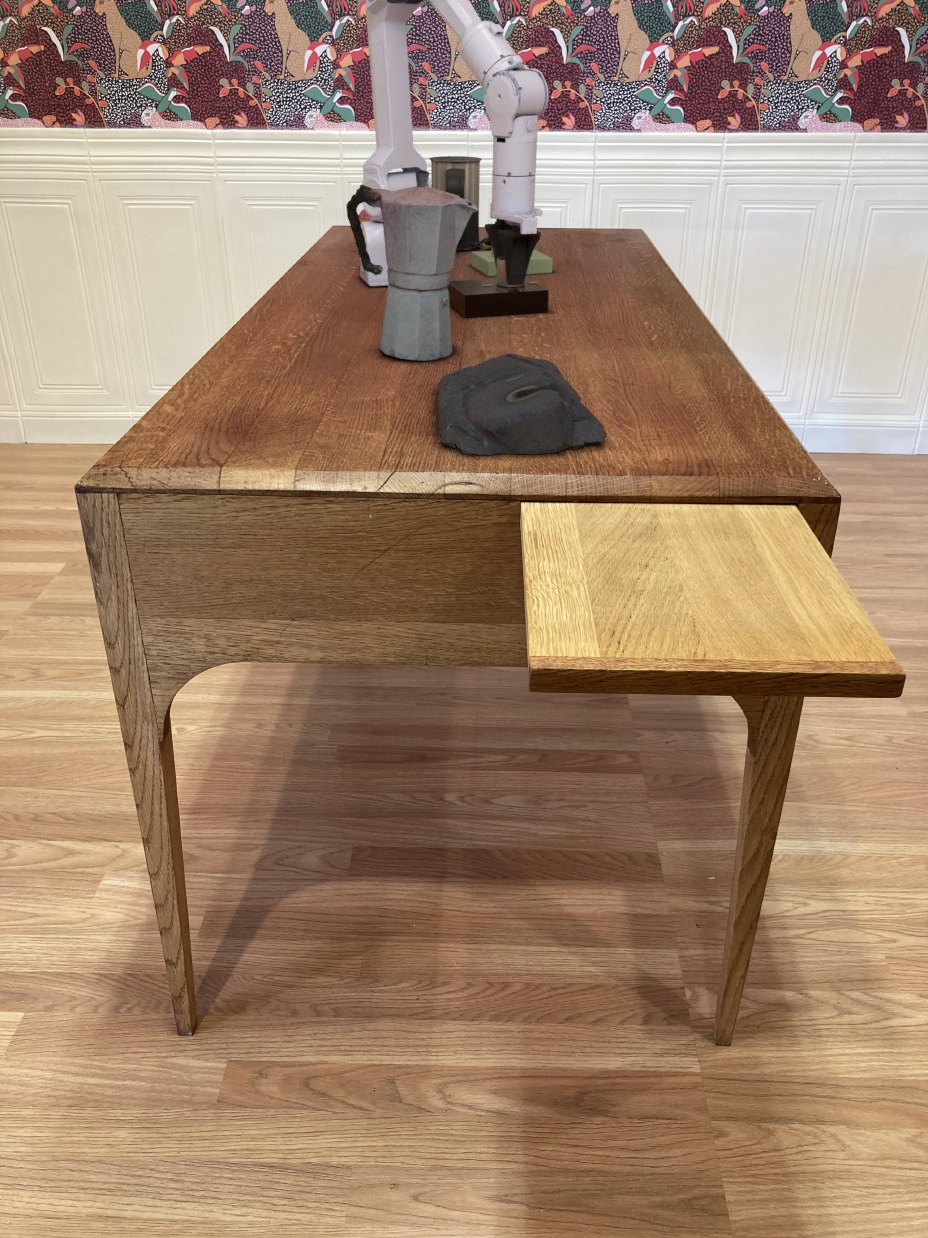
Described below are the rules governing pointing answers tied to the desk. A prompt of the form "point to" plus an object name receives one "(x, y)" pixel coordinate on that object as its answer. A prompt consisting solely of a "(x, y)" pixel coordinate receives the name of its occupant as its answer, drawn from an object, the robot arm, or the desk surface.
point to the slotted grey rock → (513, 409)
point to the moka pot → (415, 264)
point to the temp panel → (496, 298)
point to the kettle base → (487, 264)
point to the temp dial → (503, 274)
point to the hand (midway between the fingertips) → (510, 280)
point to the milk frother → (460, 191)
